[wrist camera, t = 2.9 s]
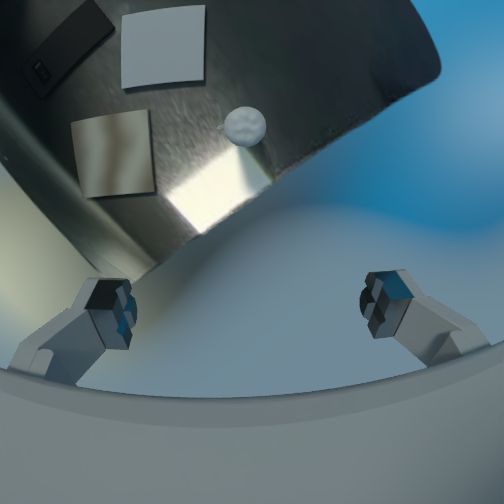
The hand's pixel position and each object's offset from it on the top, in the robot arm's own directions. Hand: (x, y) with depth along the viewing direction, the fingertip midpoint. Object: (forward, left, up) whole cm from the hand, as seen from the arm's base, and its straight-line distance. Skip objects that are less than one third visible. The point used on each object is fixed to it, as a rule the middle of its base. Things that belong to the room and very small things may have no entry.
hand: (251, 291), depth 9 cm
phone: (-24, +16, -33) cm, 44 cm away
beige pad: (-17, -2, -32) cm, 37 cm away
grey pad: (-9, +13, -32) cm, 36 cm away
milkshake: (+1, +2, -33) cm, 33 cm away
